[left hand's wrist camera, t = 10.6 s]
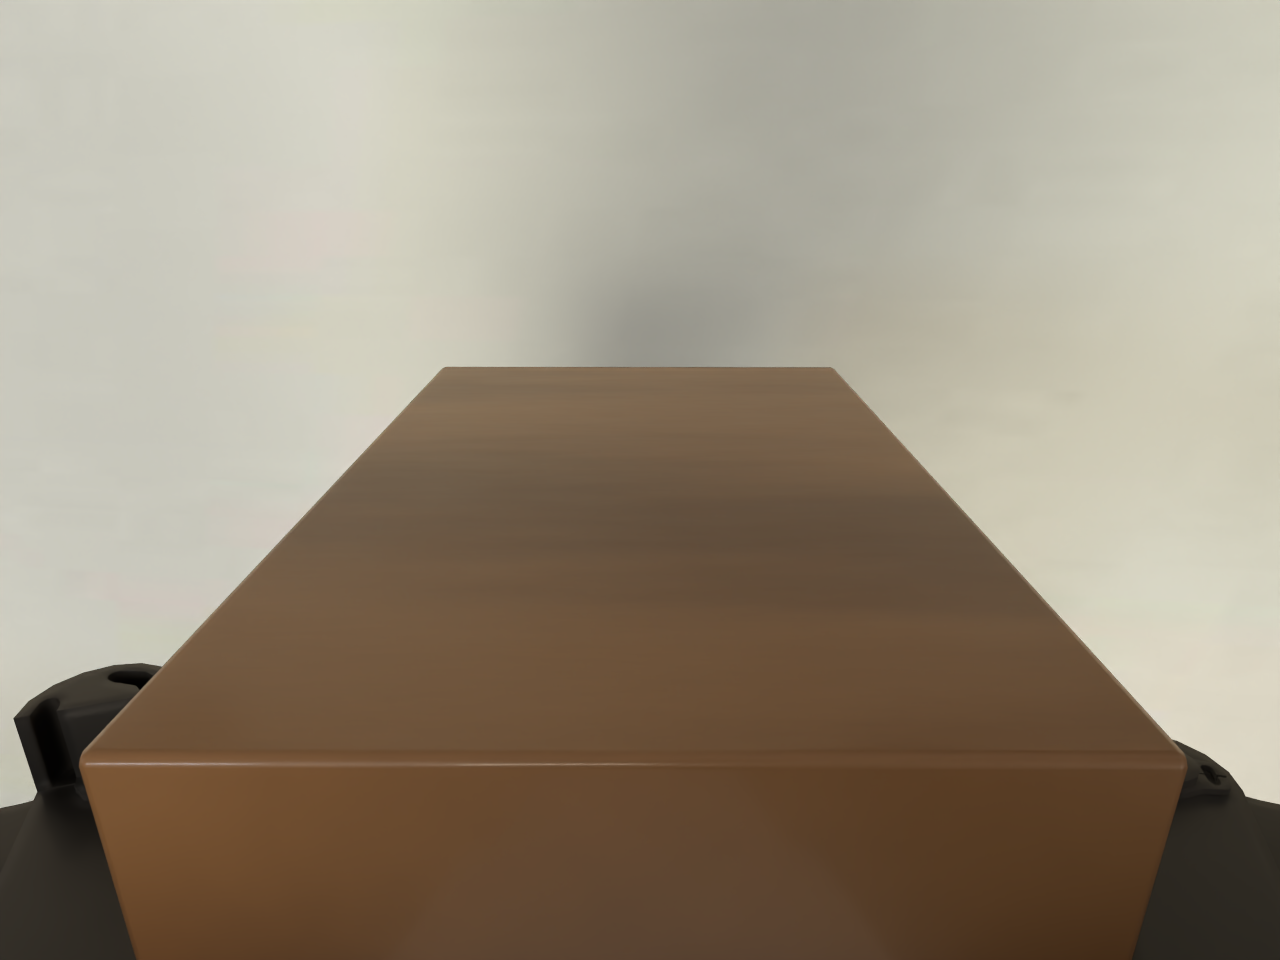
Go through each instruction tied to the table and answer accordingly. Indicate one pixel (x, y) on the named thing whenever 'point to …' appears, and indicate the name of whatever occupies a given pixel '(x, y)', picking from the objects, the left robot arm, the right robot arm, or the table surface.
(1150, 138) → the table surface
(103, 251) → the table surface
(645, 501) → the box
